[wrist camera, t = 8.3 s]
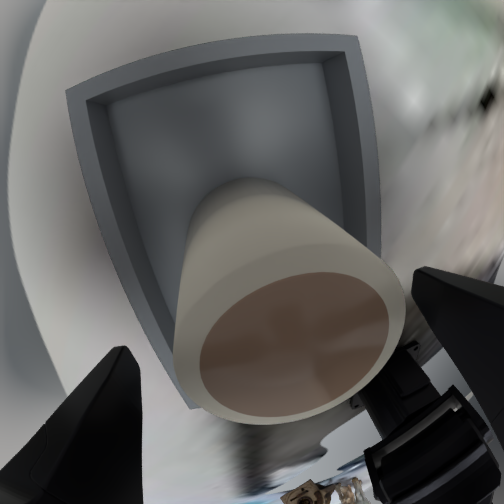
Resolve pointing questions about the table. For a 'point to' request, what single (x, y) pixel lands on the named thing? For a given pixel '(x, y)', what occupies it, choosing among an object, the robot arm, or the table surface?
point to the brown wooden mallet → (309, 494)
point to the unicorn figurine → (351, 493)
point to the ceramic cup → (278, 307)
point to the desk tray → (221, 150)
